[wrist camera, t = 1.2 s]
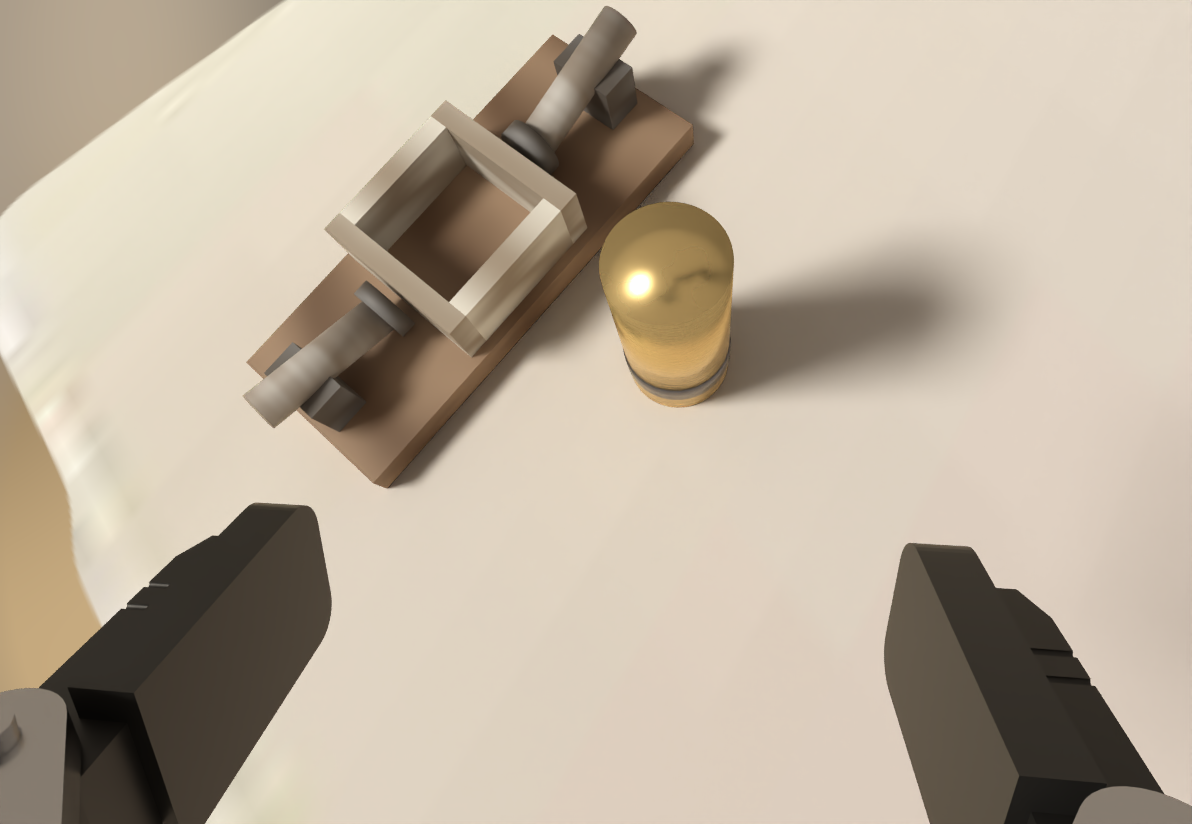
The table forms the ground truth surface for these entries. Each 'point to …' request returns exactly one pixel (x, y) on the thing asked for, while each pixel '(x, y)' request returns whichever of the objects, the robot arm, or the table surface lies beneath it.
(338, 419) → the shaft rig
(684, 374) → the ball
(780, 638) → the table surface
